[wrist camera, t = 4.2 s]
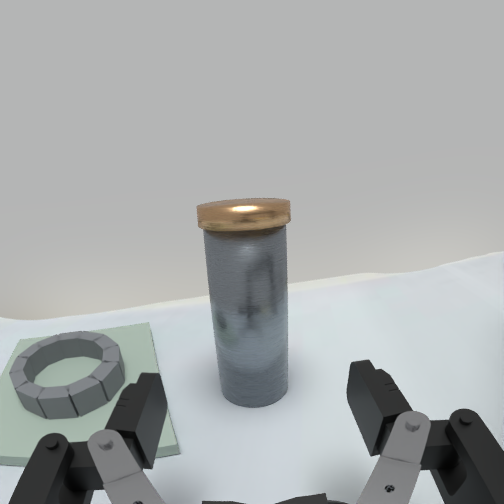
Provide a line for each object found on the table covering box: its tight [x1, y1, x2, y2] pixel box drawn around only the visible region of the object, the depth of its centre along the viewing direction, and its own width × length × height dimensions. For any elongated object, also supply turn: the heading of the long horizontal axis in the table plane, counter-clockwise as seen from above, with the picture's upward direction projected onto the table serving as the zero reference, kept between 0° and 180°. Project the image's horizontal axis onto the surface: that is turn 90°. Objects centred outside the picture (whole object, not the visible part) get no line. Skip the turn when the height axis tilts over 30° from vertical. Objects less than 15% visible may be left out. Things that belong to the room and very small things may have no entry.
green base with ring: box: [0, 322, 180, 466], centre depth 21 cm, size 16×18×3 cm
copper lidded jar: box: [197, 198, 291, 407], centre depth 21 cm, size 6×6×14 cm
